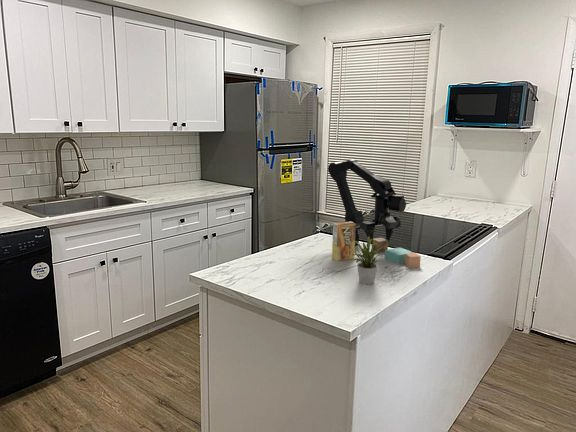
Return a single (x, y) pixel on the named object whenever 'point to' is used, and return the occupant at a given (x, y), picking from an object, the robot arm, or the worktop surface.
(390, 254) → the teal base block
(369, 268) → the house plant
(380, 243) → the walnut cube
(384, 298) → the worktop surface
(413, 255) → the terracotta cube
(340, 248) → the candy box
